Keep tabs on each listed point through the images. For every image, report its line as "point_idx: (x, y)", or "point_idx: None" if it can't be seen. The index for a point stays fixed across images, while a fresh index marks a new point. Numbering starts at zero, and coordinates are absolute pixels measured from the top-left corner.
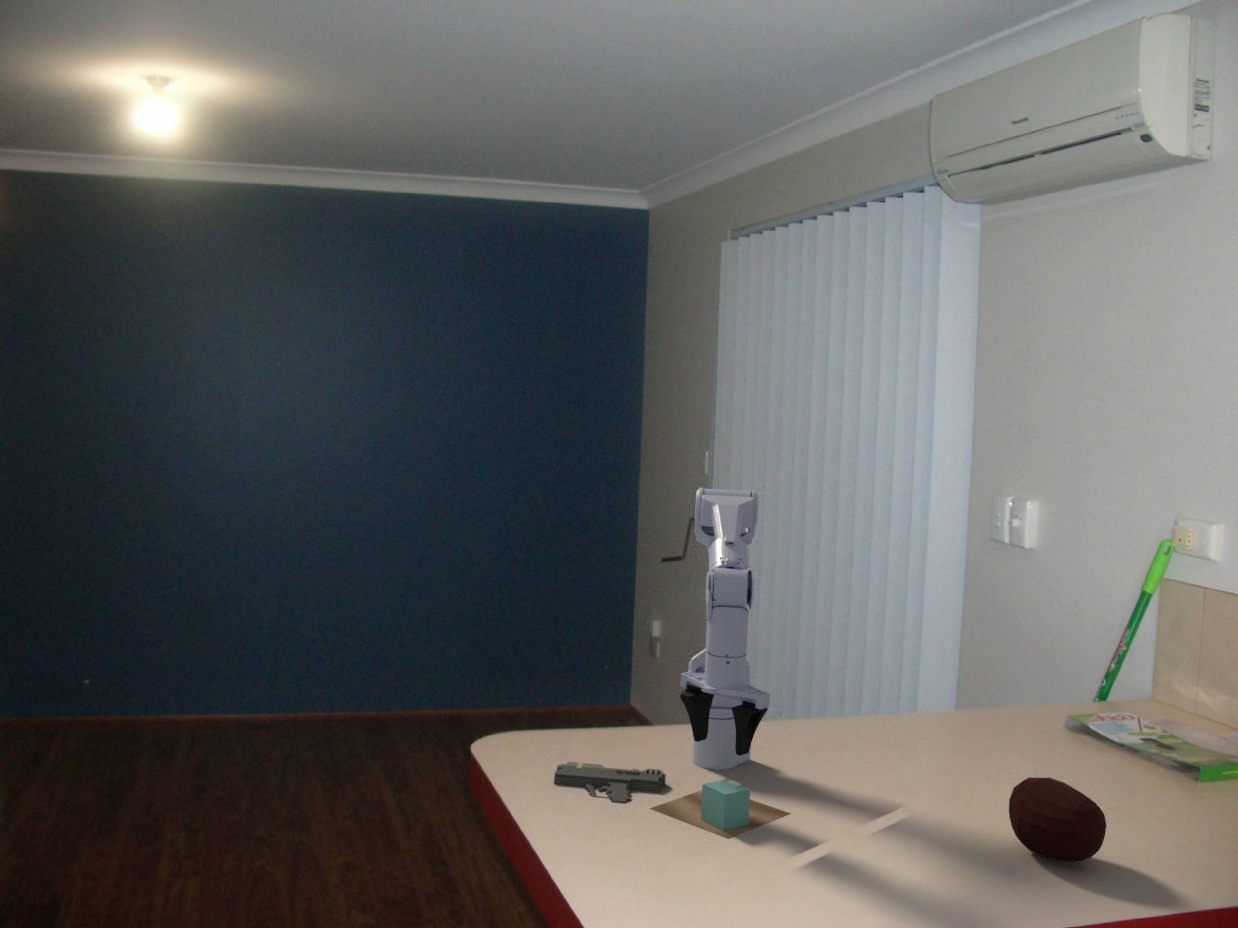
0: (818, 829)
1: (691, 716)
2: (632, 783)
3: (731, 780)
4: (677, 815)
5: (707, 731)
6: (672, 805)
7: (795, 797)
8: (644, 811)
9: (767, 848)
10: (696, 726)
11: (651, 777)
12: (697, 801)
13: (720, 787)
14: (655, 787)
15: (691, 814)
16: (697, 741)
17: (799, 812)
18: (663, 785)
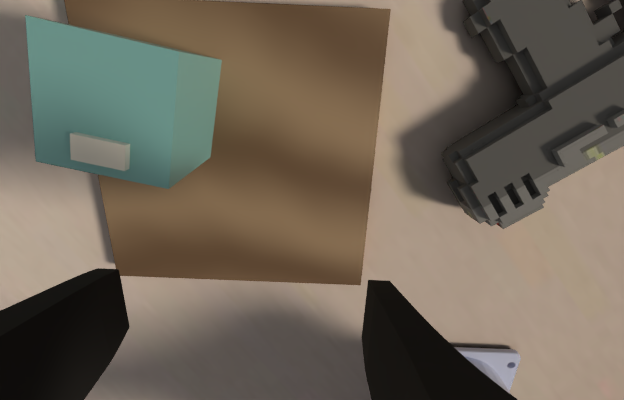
0: (52, 266)
1: (450, 370)
2: (534, 105)
3: (122, 163)
4: (290, 31)
5: (367, 371)
6: (352, 90)
7: (216, 371)
8: (415, 30)
9: (13, 75)
10: (389, 329)
11: (498, 163)
12: (321, 171)
13: (106, 78)
14: (461, 146)
15: (267, 74)
16: (369, 281)
17: (150, 314)
18: (464, 200)
